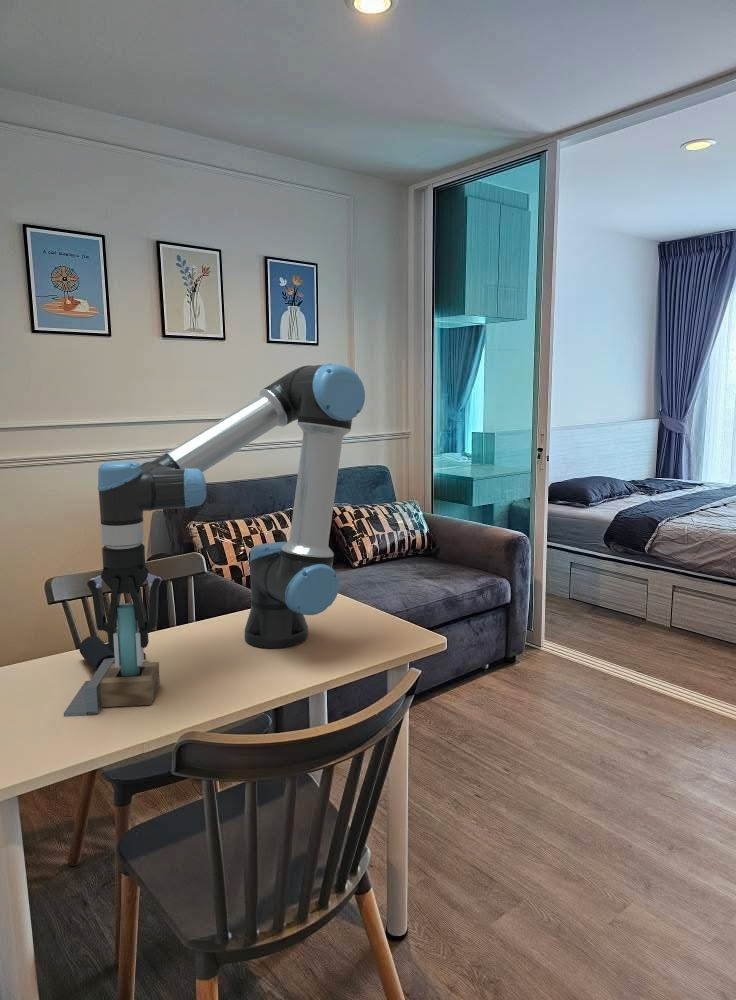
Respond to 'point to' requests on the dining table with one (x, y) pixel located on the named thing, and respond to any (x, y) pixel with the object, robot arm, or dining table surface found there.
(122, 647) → the dowel
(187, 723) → the dining table surface
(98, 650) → the pipe connector
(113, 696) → the socket block
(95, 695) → the grey wedge ramp
